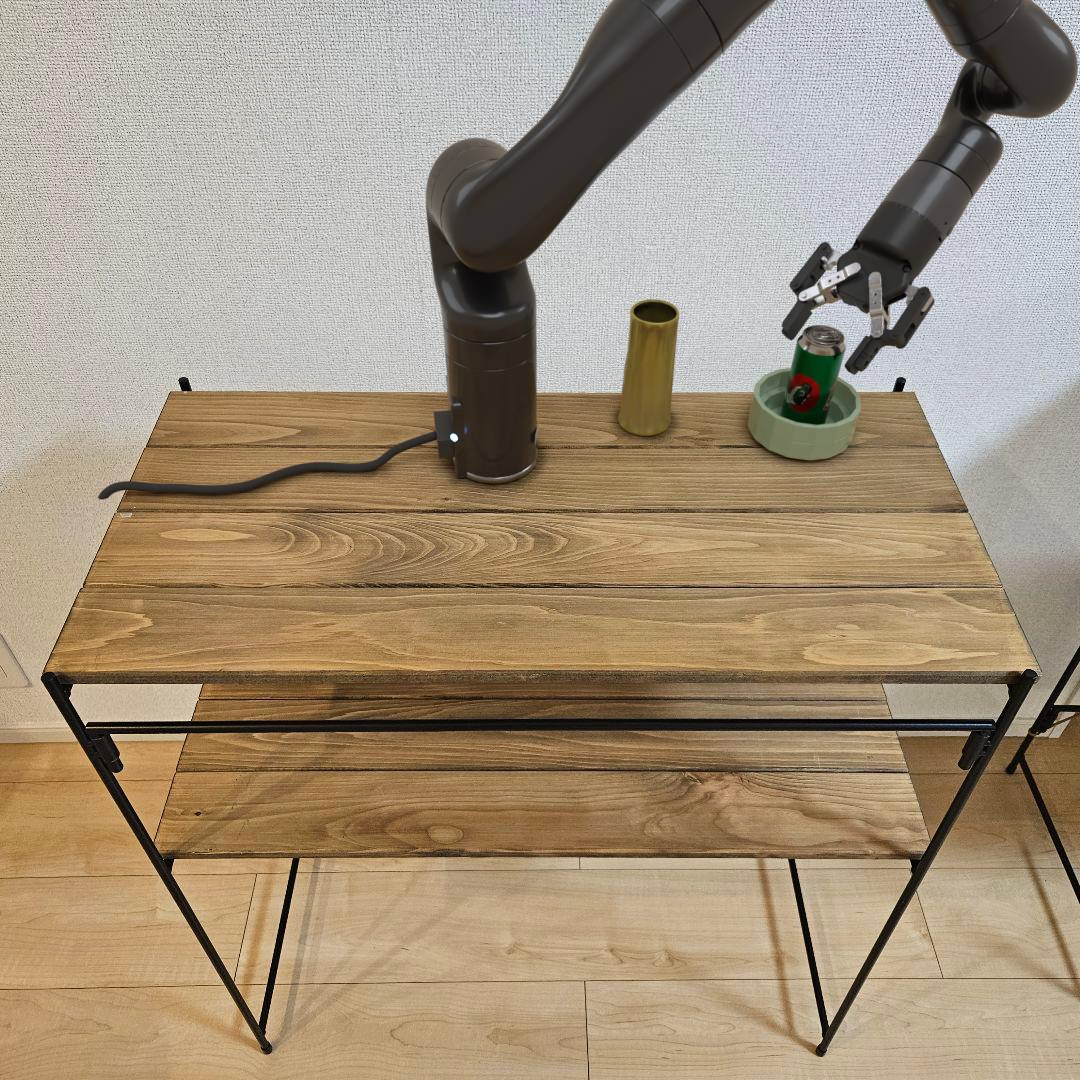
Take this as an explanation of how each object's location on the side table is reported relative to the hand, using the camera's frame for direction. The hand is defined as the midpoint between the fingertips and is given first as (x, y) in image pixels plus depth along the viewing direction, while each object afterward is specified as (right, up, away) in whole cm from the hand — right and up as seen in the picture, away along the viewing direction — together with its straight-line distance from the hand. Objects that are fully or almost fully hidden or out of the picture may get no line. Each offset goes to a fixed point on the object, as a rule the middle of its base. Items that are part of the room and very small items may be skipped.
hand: (817, 353), depth 95 cm
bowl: (0, -8, +8) cm, 11 cm away
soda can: (0, -7, +7) cm, 10 cm away
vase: (-17, -6, +9) cm, 21 cm away
